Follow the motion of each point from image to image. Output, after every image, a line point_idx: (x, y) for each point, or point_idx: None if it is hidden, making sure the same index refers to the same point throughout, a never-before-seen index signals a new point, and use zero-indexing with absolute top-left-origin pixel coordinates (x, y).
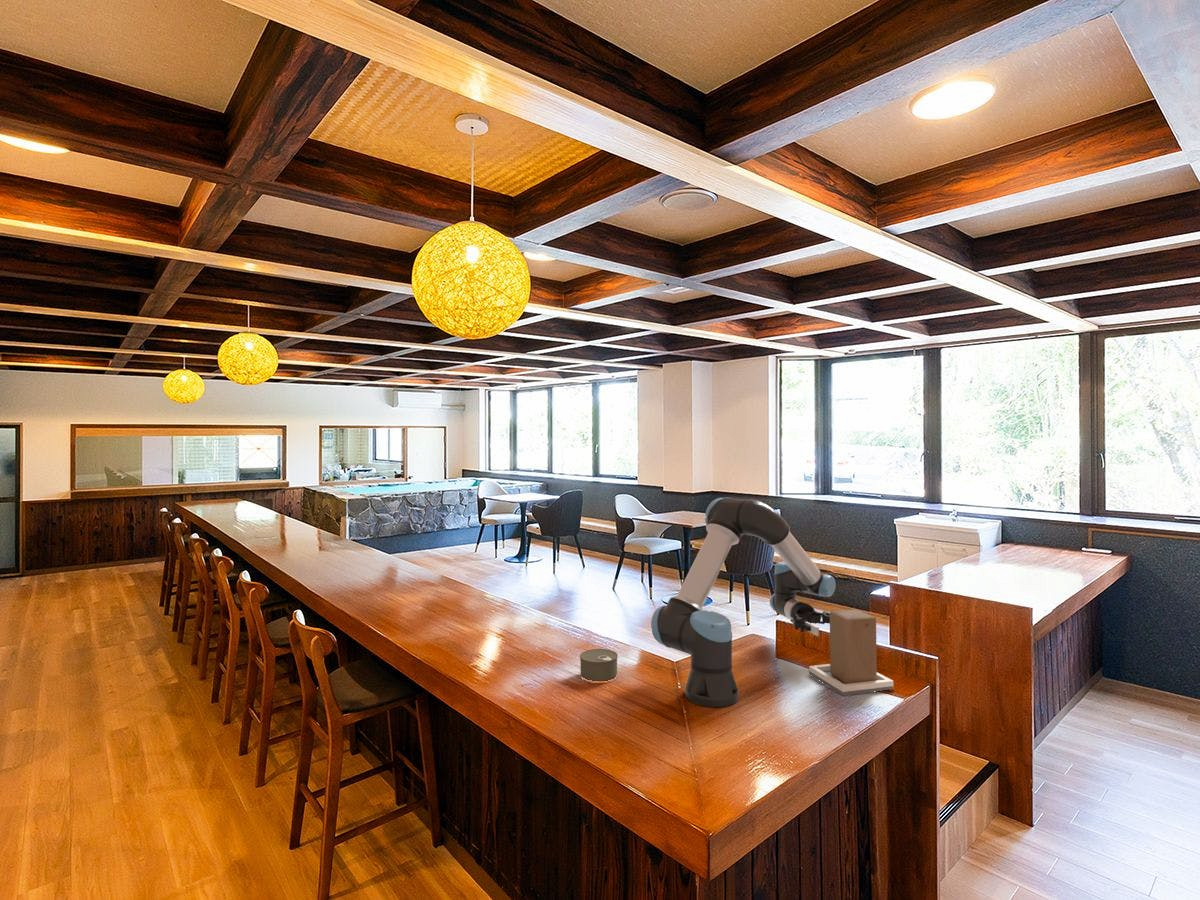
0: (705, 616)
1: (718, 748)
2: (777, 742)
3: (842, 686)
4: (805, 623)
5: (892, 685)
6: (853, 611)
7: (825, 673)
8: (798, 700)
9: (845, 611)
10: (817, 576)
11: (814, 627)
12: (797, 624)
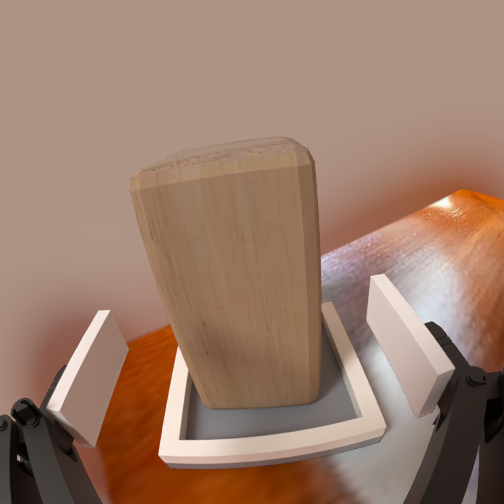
0: None
1: (492, 223)
2: (446, 228)
3: (331, 302)
4: (448, 374)
5: None
6: (190, 155)
7: (347, 368)
8: (430, 300)
9: (230, 149)
10: None
11: (394, 292)
12: (499, 375)
